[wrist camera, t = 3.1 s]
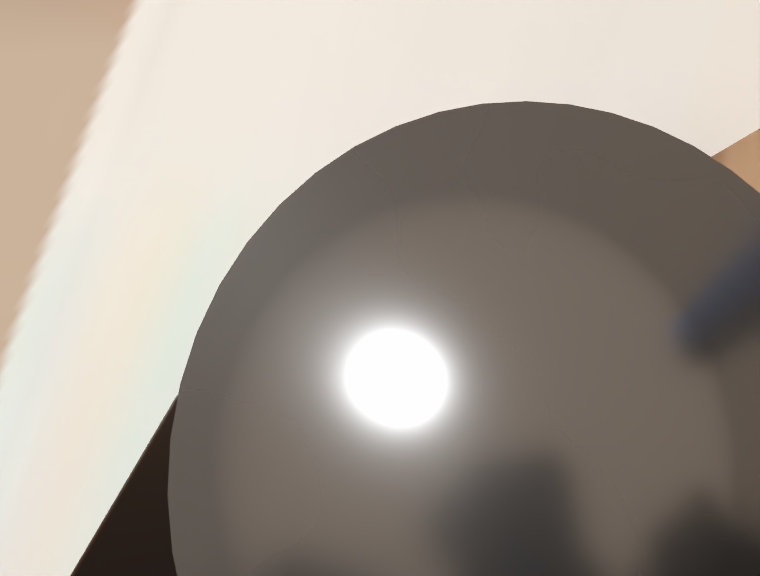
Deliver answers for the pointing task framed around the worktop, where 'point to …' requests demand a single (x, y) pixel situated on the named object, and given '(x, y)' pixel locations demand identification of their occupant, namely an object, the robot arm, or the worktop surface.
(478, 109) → the metal pin
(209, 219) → the worktop surface
